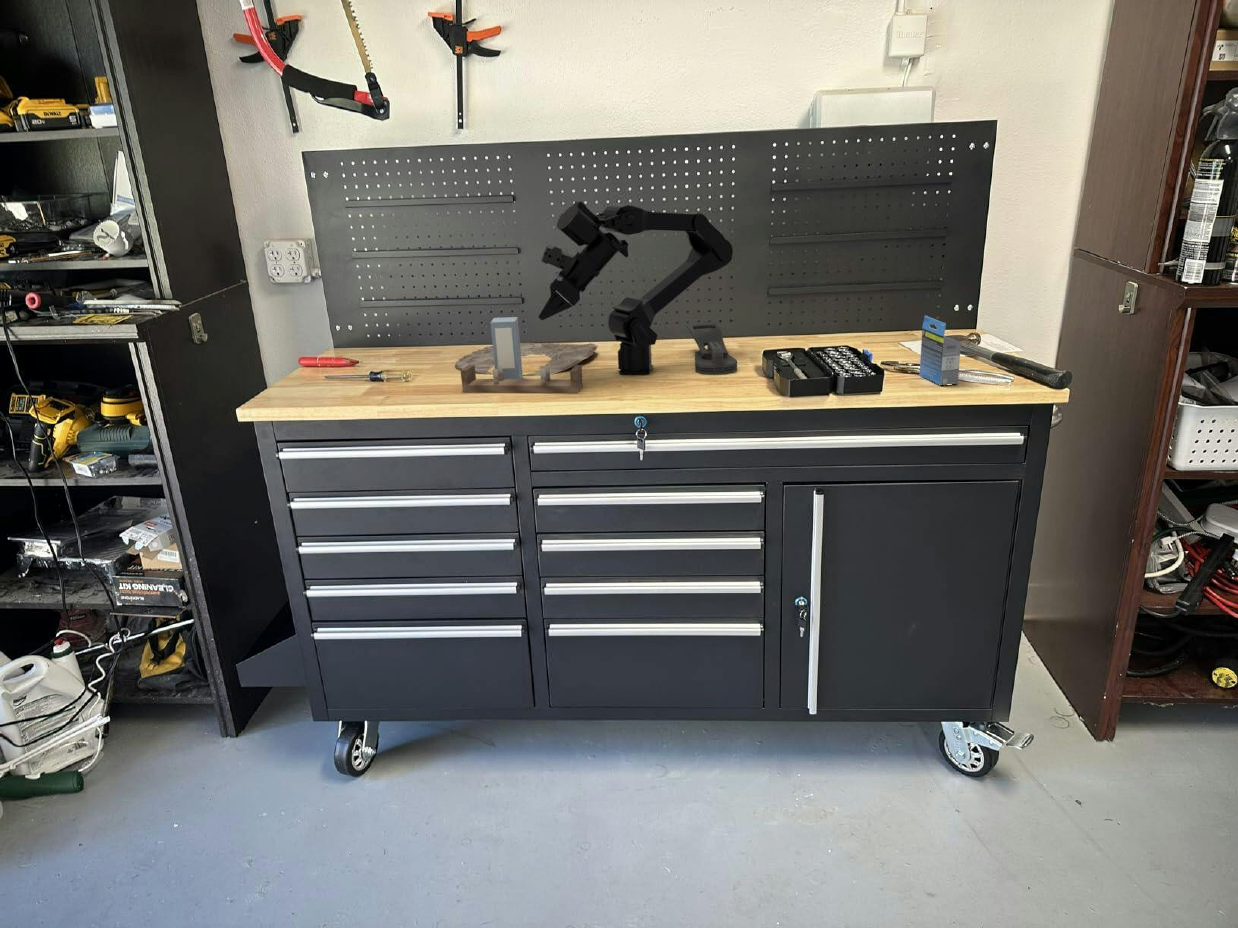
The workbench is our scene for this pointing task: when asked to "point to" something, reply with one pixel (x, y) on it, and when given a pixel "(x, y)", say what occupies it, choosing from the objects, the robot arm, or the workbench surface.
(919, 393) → the workbench surface
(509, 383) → the rail
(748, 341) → the workbench surface
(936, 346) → the label tape box
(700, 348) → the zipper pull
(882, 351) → the workbench surface
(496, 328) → the frame block
